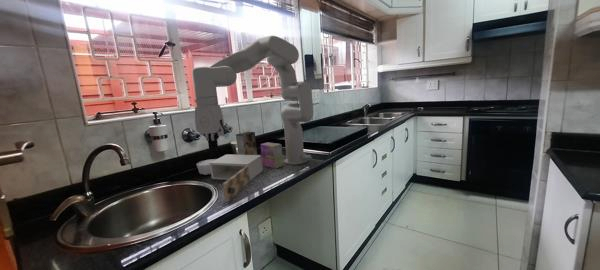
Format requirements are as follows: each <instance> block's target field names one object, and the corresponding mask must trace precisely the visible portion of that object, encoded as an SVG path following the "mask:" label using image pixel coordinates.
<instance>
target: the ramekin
mask: <svg viewBox="0 0 600 270" xmlns="http://www.w3.org/2000/svg"><path fill="white" fill-rule="evenodd" d="M216 159H217V158H213V159H206V160H200V161H199V162H197V163H196V167H197V169H198V173H199V174H200V175H202V174H203V175H204V176H207V175H208V174H209V175H211V170H210V162H212V161H214V160H216Z"/></svg>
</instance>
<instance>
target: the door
mask: <svg viewBox="0 0 600 270" xmlns="http://www.w3.org/2000/svg"><path fill="white" fill-rule="evenodd" d="M250 181H251V180H250V176H249V167H248V166H245V167H244V168H243V169H241V170H240V171H239V172H237V173H236V174H235V175H234V176H232V177H231V178H230V179H228V180H225V181H224V182H223V183H222V187H223V194H224V195H223V196H224V202H226V203H227V202H229V201H230V200H231V199H232V198H234V197H235V196H236V195H237V194H238V193H239V192H240V191H241V190H242V189H243V188H245V186H246V185H248V184H249V182H250Z"/></svg>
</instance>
